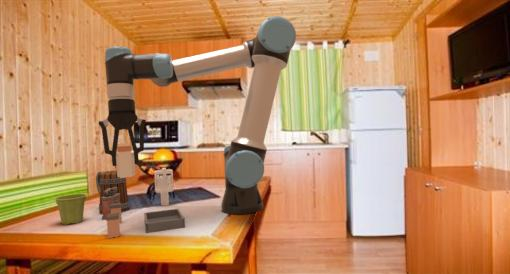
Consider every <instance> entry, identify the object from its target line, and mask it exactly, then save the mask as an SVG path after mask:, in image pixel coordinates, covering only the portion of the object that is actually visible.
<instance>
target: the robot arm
mask: <svg viewBox="0 0 510 274" xmlns="http://www.w3.org/2000/svg"><path fill="white" fill-rule="evenodd" d="M296 40H297V32H296V29H295V26H294V25H293V24H292V22H291V21H289V20H288V19H287V18H285V17H282V16H278V15H277V16H270V17H268V18H266V19H264V21H263V22H261V24H260V25H259V27H258V29H257V34H256V36H255V37H254V38H251V39H248V40H244V41H243V42H242V44H241V45H236V46H231V47H226V48H222V49H217V50H214V51H213V50H212V51H209V52H205V53H204V52H203V53H199V54H195V55H191V56H187V57H181V58H177V59H176V58H175V59H172V55H170V54H169V53H160V52H156V53H141V54H138V53H137V54H134V53H132V50H131V49H130V48H128V47H125V46H117V45H115V46H109V47H107V48H106V49H105V51H104V53H105V55H104V65H105V66H104V67H105V76H106V91H107V93H106V94H107V95H106V96H107V99H109V100H108V101H107V106H108V107H107V108H108V109H107V110H108V116H107V118H106V119H104V120H99V121H98V125H99V127H100V128H101V135H102V142H103V149H104V153H105V154H106V155H110V156H111V164H112V166H113V167H116V170H117V177H120V173H119V158H118V154H117V153H118V149H117V147H118V143H119V137H120V131H121V130H127V132H128V136H129V140H130V144H131V149H132V151H133V153H131V157H132V172H133V177H134V176H136V165H138V164H139V153H141V152H143V151H144V150H145V125H146V122H147V120H146V119H142V118H139V117H138V115H137V114H136V102H135V100H134V98H135V85H134V80H150V81H151V82H152V84H154V85H156V86H157V87H161V88H162V87H163V88H166V87H168V86H170V85H171V84H174V83H178V82H182V81H186V80H191V79H195V78H200V77H204V76H209V75H213V74H218V73H222V72H225V71H231V70H235V69H241V68H244V67H247V68H249V69H253V70H252V76H251V78H250V83H249V88H248V92H247V95H246V99H245V104H244V108H243V113H242V116H241V122H240V125H239V129H238V134H237V136H236V137H235V138H233V139H232V140H231V141H230V145H228V146H225V148H224V149H223V150H224V151H223V157H224V159H223V160H224V161H223V162H224V176H225V177H224V183H225V186H224V187H225V189H224V193H223V198H222V201H221V204H220V205H221V212H223V213H225V214H231V215H246V214H253V213H258V212H261V211H263V209H264V200H263V198H262V196H261V193H260V190H259V188H258V187H259V185H258V184H259V182H261V180H262V178H263V176H264V173H265V163H264V162H265V159H266V155H267V151H268V150H267V149H268V148H267V146H266V145H265V138H266V135H267V134H266V133H267V129H268V126H269V123H270V118H271V113H272V109H273V105H274V100H275V96H276V92H277V88H278V83H279V79H280V75H281V73H282V72H281V71H282V70H284V69H286V68H287V66H288V62H289V58H290V54H291V50H292V48H293V47H294V45H295V43H296ZM136 122H137V125H138V126H139V147H138V146H137V143H136V140H135V135H134V132H133V127H134V125H135V124H136ZM108 123H109V124H110V125H111V126H112V127H113V128H114V131H113V140H112V147H111V150H110V143H109V138H108V137H109V136H108V129H107V127H108V126H109V125H108Z"/></svg>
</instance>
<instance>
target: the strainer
mask: <svg viewBox="0 0 510 274" xmlns="http://www.w3.org/2000/svg"><path fill="white" fill-rule="evenodd" d="M173 172H174V170H173V169H167V168H166V167H162V169H157V170H154V192H155V193H157V194H160V206H163V207H167V206H169V205H170V200H169V199H170V198H169V193H171V192H174V174H173ZM168 174H169V175H168Z"/></svg>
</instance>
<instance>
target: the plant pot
mask: <svg viewBox="0 0 510 274" xmlns="http://www.w3.org/2000/svg"><path fill="white" fill-rule="evenodd" d="M87 196H88V194H87V193H76V194H75V193H74V194H65V195H61V196H57V197H55V198H54V201H55V203H56V205H57V208H58V213H59V216H60V222H61V225H69V224H77V223H80V222H82V221H83V220H84V213H85V212H84V209H85V201H86V198H87Z"/></svg>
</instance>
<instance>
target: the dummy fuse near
mask: <svg viewBox="0 0 510 274" xmlns="http://www.w3.org/2000/svg"><path fill="white" fill-rule="evenodd" d="M119 217H120V213H114V214H107V217H106V220H105V221H106V227H107V228H106V232H107V239H113V237H115V238H119V237H118V236H120V235H121V225H120V224H121V223H120V221H119ZM120 237H121V236H120Z"/></svg>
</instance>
